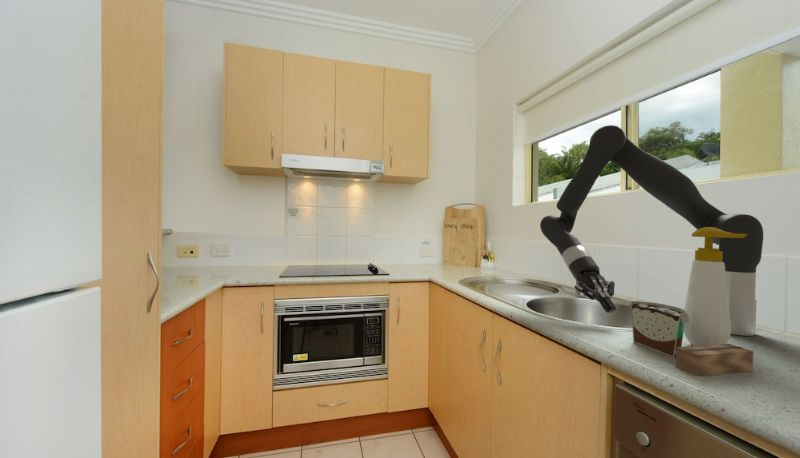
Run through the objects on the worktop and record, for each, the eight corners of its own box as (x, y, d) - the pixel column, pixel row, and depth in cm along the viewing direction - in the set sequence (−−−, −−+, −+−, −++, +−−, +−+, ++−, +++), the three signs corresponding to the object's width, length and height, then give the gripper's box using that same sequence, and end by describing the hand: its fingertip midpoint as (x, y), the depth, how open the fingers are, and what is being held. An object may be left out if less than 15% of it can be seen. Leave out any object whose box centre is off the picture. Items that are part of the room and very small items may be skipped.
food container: (703, 358, 68) (704, 313, 68) (681, 360, 67) (683, 314, 67) (647, 338, 80) (648, 300, 80) (627, 339, 79) (629, 300, 79)
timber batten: (728, 362, 66) (728, 343, 66) (752, 371, 63) (753, 350, 63) (675, 366, 64) (676, 346, 64) (697, 375, 60) (698, 354, 60)
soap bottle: (738, 362, 67) (743, 226, 66) (675, 346, 75) (679, 226, 75) (746, 349, 74) (751, 228, 74) (688, 336, 83) (692, 227, 82)
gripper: (568, 255, 96) (600, 304, 84) (604, 255, 98) (640, 303, 86) (555, 270, 101) (584, 318, 89) (590, 269, 104) (622, 317, 92)
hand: (611, 311), depth 88 cm, fingers closed
